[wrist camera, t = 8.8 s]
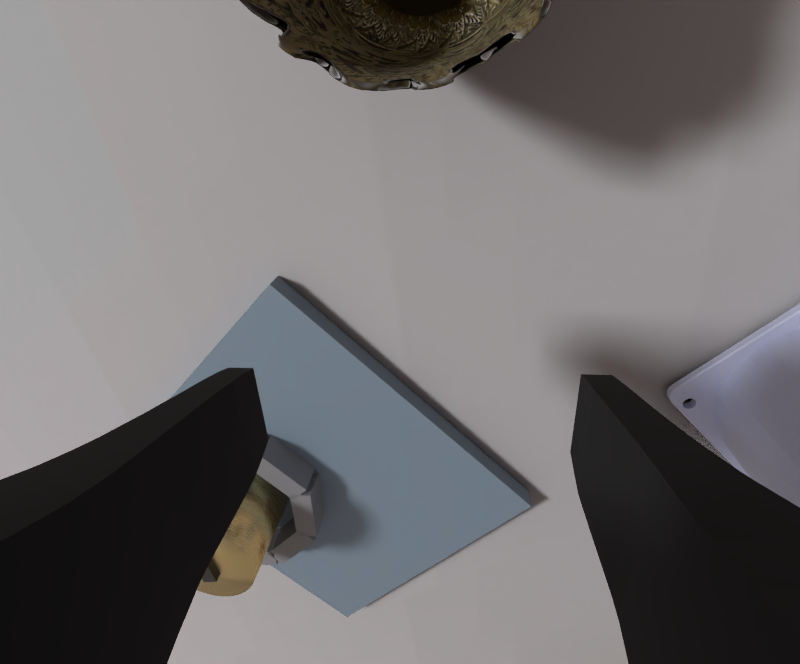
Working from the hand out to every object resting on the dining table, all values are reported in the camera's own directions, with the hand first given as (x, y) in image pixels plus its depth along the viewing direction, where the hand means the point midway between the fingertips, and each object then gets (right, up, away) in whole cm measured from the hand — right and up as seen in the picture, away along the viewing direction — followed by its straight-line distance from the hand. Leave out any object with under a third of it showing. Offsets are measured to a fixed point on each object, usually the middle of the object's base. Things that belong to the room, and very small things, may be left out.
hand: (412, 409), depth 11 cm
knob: (-8, -6, +14) cm, 18 cm away
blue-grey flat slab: (-4, -5, +14) cm, 16 cm away
